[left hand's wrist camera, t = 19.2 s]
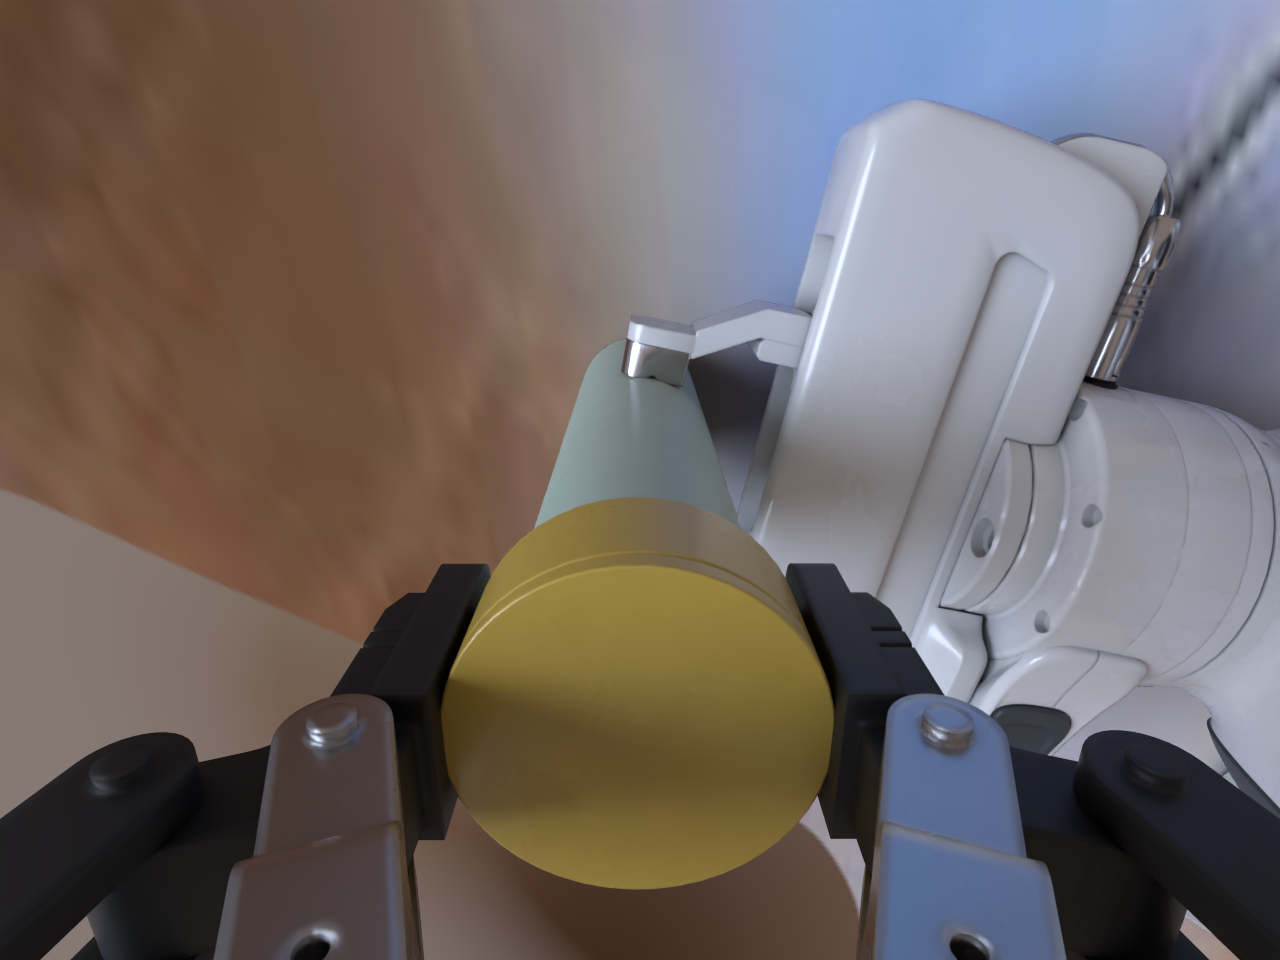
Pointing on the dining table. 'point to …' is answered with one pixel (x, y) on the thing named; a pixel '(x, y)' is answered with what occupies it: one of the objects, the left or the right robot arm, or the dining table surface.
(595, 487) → the mint green cylinder
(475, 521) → the dining table surface
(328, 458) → the dining table surface
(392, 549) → the dining table surface
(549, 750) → the lid
